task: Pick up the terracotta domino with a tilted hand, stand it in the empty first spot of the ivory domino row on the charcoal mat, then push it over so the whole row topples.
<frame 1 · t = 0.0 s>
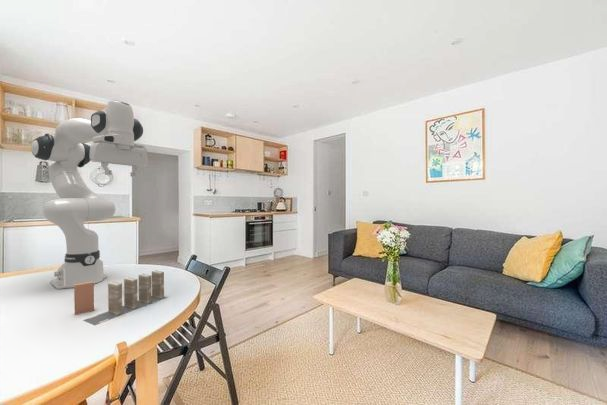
hand: (121, 175, 103), 48 cm above the table, tool pointing down, fingers open, 8 cm apart
domino 5: (158, 297, 99), resting on slate mat
domino 3: (131, 307, 90), resting on slate mat
terracotta domino: (84, 312, 86), on the table
domino 2: (115, 312, 85), resting on slate mat
slate mat: (129, 308, 89), on the table
domino 4: (145, 301, 94), resting on slate mat
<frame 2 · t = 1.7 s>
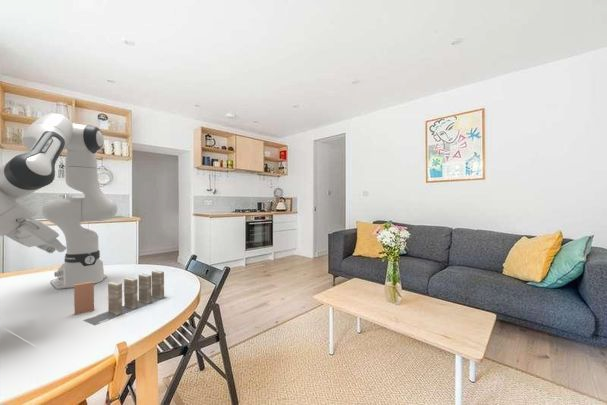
hand: (58, 251, 81), 22 cm above the table, tool tilted 45°, fingers open, 8 cm apart
nothing on the table moved.
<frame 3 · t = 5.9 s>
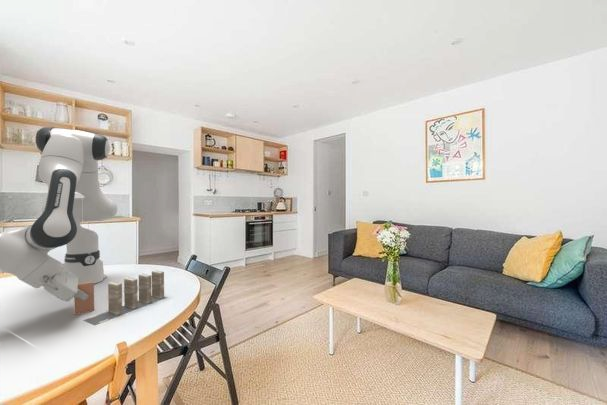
hand: (86, 296, 87), 5 cm above the table, tool tilted 45°, fingers closed on terracotta domino, 2 cm apart
terracotta domino: (84, 312, 86), on the table, touching gripper
everything else where it was.
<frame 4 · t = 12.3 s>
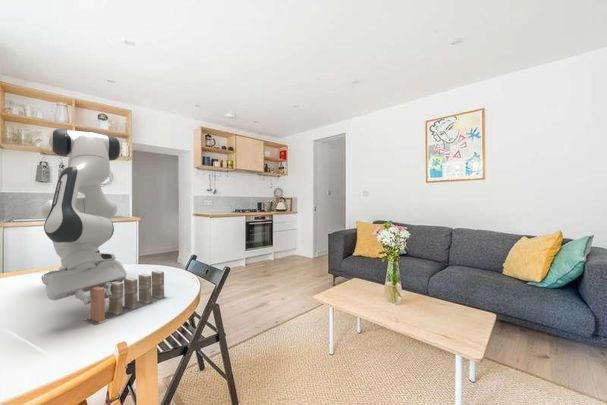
hand: (98, 299, 80), 7 cm above the table, tool tilted 45°, fingers open, 4 cm apart
terracotta domino: (97, 319, 81), resting on slate mat
domino 2: (115, 312, 85), resting on slate mat, touching gripper
everything else where it was.
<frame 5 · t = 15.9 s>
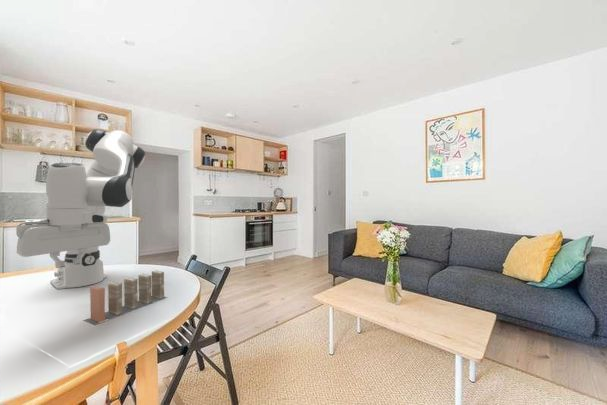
hand: (69, 265, 74), 19 cm above the table, tool pointing down, fingers open, 3 cm apart
domino 2: (115, 312, 85), resting on slate mat
everything else where it was.
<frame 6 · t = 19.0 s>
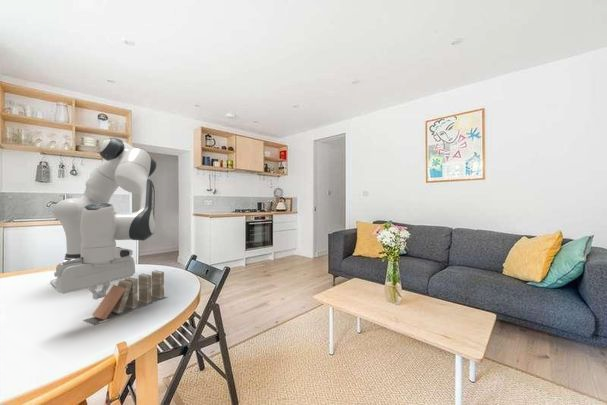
hand: (99, 297, 81), 7 cm above the table, tool pointing down, fingers closed
domino 3: (131, 307, 90), resting on slate mat, touching domino 2
terracotta domino: (98, 317, 81), point 1 cm above the table, tilted 39°, touching slate mat
domino 2: (115, 311, 85), point 1 cm above the table, tilted 20°, touching domino 3
everything else where it was.
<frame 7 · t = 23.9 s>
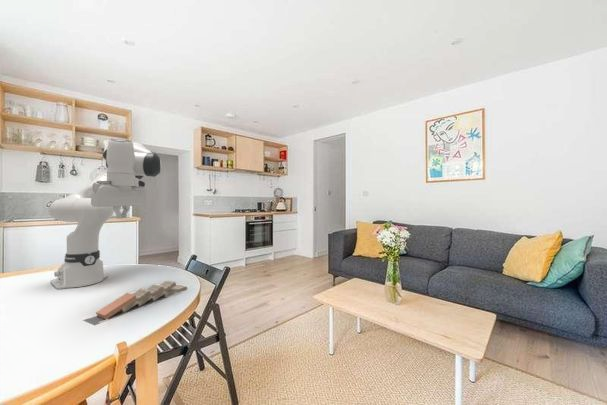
hand: (121, 218, 96), 31 cm above the table, tool pointing down, fingers closed
domino 5: (160, 294, 100), point 1 cm above the table, tilted 92°, touching domino 4, slate mat
domino 3: (134, 303, 91), point 1 cm above the table, tilted 71°, touching domino 2, domino 4, slate mat
terracotta domino: (100, 315, 81), point 1 cm above the table, tilted 72°, touching domino 2, slate mat
domino 2: (118, 309, 86), point 1 cm above the table, tilted 72°, touching domino 3, slate mat, terracotta domino
domino 4: (148, 298, 95), point 1 cm above the table, tilted 71°, touching domino 3, domino 5
at the end: terracotta domino inside the target area (0.2 cm from its centre), point 1.2 cm above the table; terracotta domino tilted 72°; domino 5 tilted 92° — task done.
